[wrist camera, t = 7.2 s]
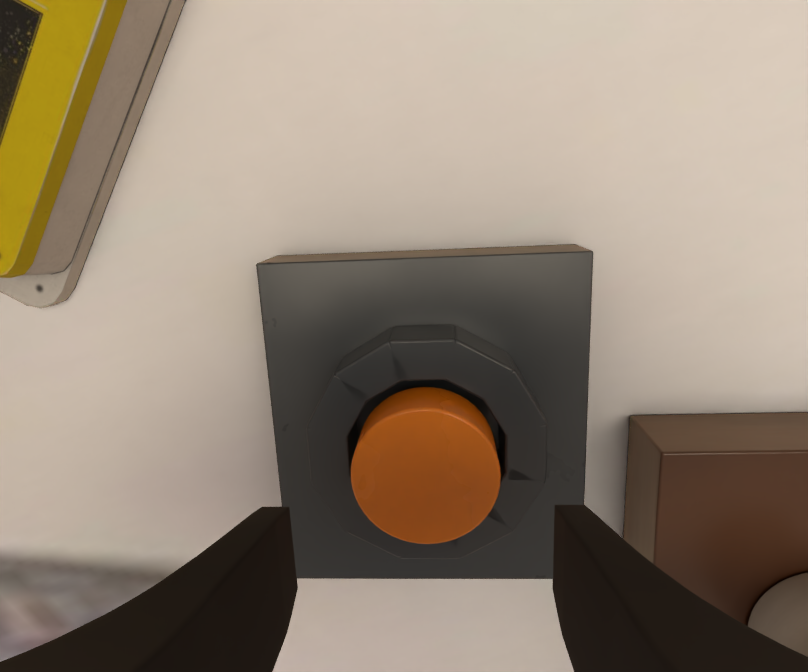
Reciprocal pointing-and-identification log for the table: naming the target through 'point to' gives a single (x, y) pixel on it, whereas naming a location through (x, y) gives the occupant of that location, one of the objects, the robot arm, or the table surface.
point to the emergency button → (68, 128)
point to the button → (426, 466)
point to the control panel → (720, 502)
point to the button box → (429, 367)
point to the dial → (784, 613)
